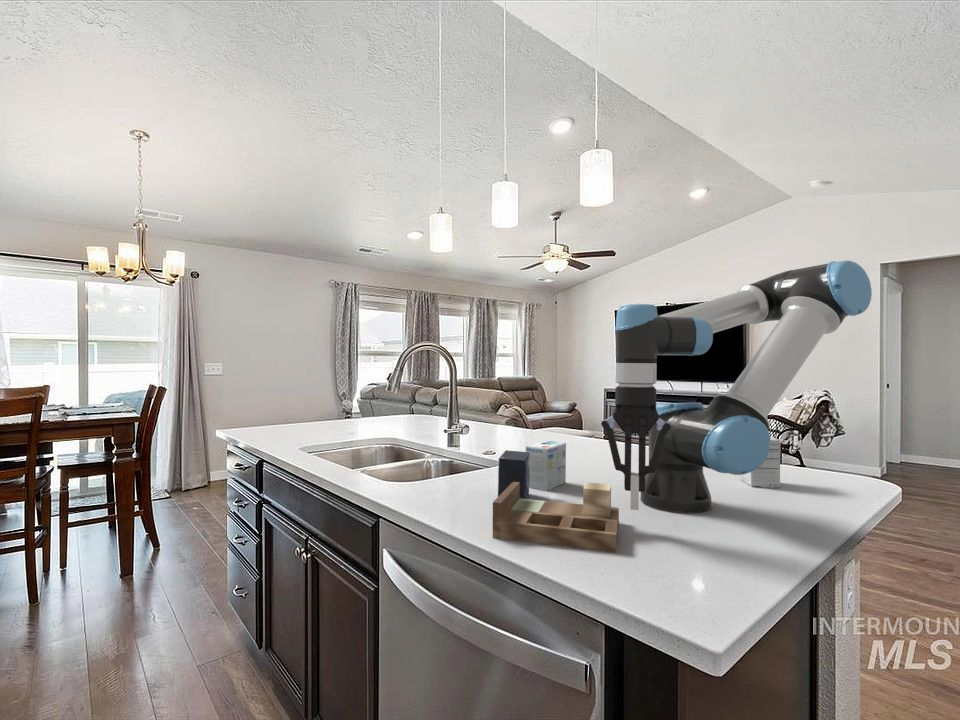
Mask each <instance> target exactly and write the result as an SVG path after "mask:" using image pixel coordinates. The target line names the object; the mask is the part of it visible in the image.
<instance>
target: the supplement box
mask: <svg viewBox="0 0 960 720" xmlns="http://www.w3.org/2000/svg"><path fill="white" fill-rule="evenodd" d="M770 441H771V442H770V443H768V446H769V447H770V450H769V453H768V456H767V457H766V459H765V461H764V462H763V463H762V464H761V465H760V466H759V467H758V468H757V469H755V470H754V471H752V472H750V473H747V474H742V475H739V476H740V478H739V479H740V480H741V481H742V482H744V483H745V484H747V485H748V484H749V485H748V486H750V487H751V486H765V487H764V488H766V487H780V488H781V439H778V438H775V437H772V436H770Z"/></svg>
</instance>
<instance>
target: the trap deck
mask: <svg viewBox="0 0 960 720" xmlns="http://www.w3.org/2000/svg"><path fill="white" fill-rule="evenodd" d="M619 523H620V508H619V507H614V506H611V512H610V517H606V516H596V515H586V514H583V503H573V502H572V503H570V502H560V501H559V502H558V501H550V500H539V499H538V500H537V499H528V498H527V499H520V482H512V483H511V484H510V485H509V486H508V487H507V488H506V489H505V490H504V491H503V492H502V493H501V494H500V495H499V497H498V496H497V497H496V498H495V499H494V501H492V538H493V539H502V540H509V541H510V540H511V541H519V542H527V543H535V544H545V545H550V546H551V545H553V546H561V547H567V548H570V547H571V548H578V549H587V550H593V551H594V550H596V551H603V552H610V553H611V552H612V553H617V548H618V538H619Z"/></svg>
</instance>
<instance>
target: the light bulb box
mask: <svg viewBox="0 0 960 720" xmlns="http://www.w3.org/2000/svg"><path fill="white" fill-rule="evenodd" d="M525 452H529V458H530V466H529V489H535V490H540V491H546V492H548V491H551V490H552V489H555V488H557V487H559V486H560V485H563V484H565V483H566V481H567V480H566V477H567V474H566V473H567V472H566V467H567V466H566V465H567V461H566V460H567V443H566V442H561V441H560V442H559V441H549V440H543V441H540V442H536V443H533V444H530V445H526V446H525Z"/></svg>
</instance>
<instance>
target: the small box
mask: <svg viewBox="0 0 960 720" xmlns="http://www.w3.org/2000/svg"><path fill="white" fill-rule="evenodd" d="M497 466H498V470H497V471H498V473H497V476H498V477H497V480H498V483H497V498H498V497H499V495H500V494H501V493H502V492H503V491H504V490H505V489H506V488H507V487H508V486H509V485H510V484H511V483H512V482H520V499H528V497H529V494H530V488H529V466H530V458H529V452H526V451H518V450H504V451H503V453H502V454H501V455H500V456H499V458H498V465H497Z"/></svg>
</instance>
